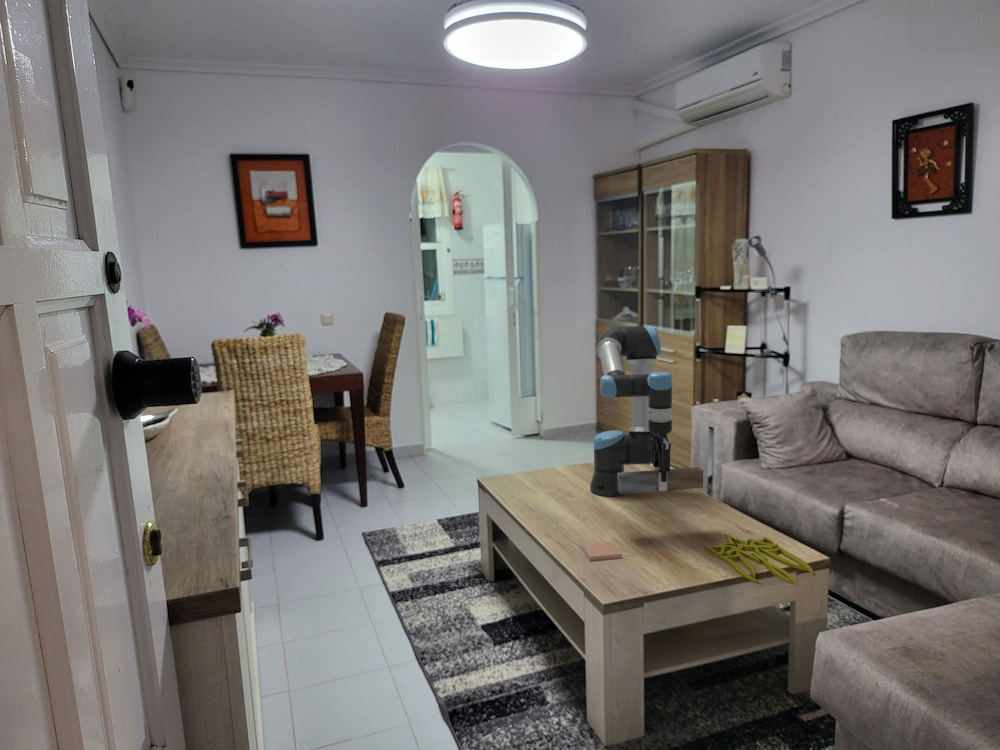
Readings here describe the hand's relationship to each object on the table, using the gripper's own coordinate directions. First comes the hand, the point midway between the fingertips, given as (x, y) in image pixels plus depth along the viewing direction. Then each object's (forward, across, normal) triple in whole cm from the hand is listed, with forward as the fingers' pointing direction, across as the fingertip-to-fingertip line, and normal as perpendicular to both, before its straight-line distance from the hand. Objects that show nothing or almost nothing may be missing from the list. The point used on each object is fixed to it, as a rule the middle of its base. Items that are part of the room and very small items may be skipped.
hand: (660, 488), depth 225 cm
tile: (+14, +14, -19) cm, 27 cm away
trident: (+15, +28, +20) cm, 37 cm away
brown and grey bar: (0, 0, 0) cm, 0 cm away
